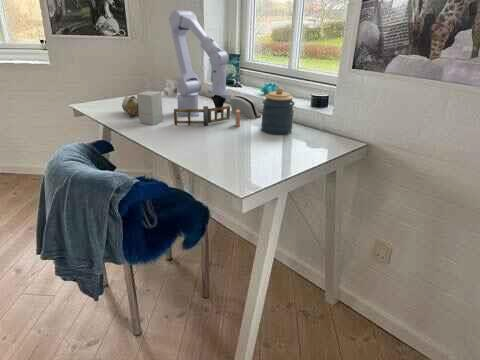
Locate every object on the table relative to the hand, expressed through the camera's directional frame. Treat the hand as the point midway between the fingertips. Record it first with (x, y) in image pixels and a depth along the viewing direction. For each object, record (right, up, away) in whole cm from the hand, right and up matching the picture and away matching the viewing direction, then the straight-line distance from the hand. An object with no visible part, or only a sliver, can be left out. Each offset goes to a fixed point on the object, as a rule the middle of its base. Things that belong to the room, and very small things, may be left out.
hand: (218, 112), depth 156 cm
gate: (0, -4, 0) cm, 4 cm away
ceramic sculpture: (-39, +1, +8) cm, 40 cm away
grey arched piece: (+11, +1, +14) cm, 18 cm away
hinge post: (-5, -6, -4) cm, 9 cm away
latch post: (+8, -6, -3) cm, 11 cm away
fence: (-12, -6, -5) cm, 14 cm away
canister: (+25, -9, -7) cm, 27 cm away
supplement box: (-29, -5, -2) cm, 29 cm away
